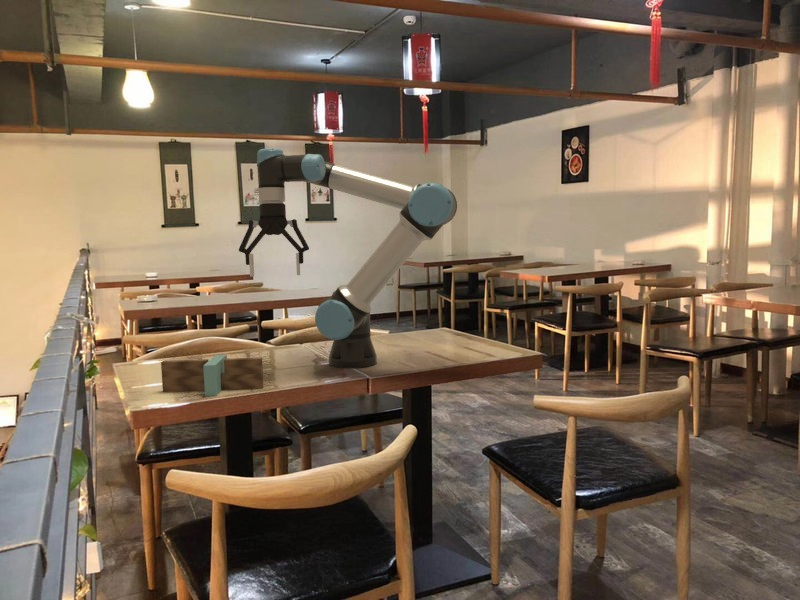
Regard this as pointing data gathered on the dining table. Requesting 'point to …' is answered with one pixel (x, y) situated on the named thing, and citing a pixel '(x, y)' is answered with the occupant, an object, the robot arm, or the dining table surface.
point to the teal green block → (213, 375)
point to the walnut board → (192, 374)
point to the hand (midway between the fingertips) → (275, 275)
